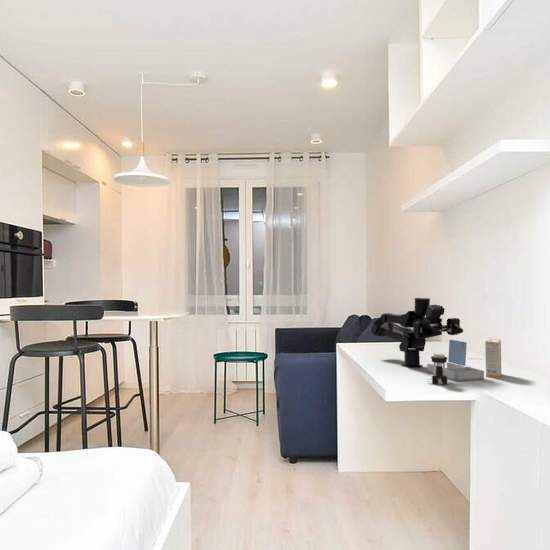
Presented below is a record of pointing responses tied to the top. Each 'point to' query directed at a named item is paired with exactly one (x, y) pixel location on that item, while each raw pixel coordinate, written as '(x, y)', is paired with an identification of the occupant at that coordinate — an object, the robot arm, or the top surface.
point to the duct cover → (457, 352)
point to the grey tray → (459, 372)
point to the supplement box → (493, 358)
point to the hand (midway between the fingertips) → (452, 332)
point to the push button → (439, 369)
